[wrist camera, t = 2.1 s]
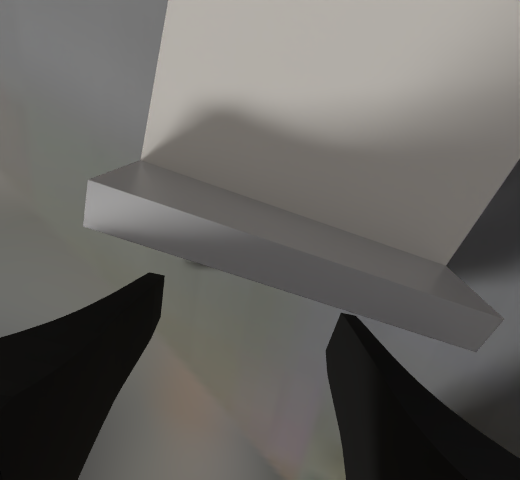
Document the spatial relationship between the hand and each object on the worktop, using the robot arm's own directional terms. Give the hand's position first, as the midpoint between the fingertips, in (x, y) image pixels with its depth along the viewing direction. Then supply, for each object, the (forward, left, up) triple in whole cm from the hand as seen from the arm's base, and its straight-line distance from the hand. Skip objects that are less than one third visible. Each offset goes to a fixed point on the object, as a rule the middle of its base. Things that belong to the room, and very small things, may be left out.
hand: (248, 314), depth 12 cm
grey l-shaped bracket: (0, -8, -2) cm, 8 cm away
